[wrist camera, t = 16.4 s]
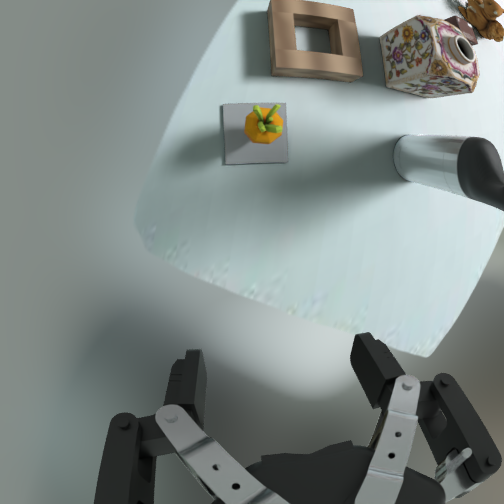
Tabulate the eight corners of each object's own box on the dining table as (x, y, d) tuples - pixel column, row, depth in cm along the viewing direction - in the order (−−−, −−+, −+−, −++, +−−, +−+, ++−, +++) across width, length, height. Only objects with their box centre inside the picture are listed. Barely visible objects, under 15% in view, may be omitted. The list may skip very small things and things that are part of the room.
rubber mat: (285, 103, 39) (285, 103, 38) (287, 162, 42) (288, 162, 42) (223, 104, 38) (222, 104, 38) (225, 164, 42) (225, 164, 41)
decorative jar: (384, 87, 38) (447, 69, 21) (376, 36, 34) (431, 3, 17) (430, 99, 39) (493, 93, 22) (423, 51, 34) (480, 32, 18)
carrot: (237, 122, 39) (239, 104, 25) (267, 114, 39) (284, 94, 25) (246, 151, 41) (253, 148, 27) (276, 142, 41) (298, 136, 26)
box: (442, 43, 33) (462, 37, 26) (435, 22, 31) (454, 14, 24) (458, 49, 33) (478, 44, 26) (452, 29, 31) (470, 22, 24)
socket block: (342, 19, 33) (352, 9, 28) (350, 82, 38) (363, 76, 33) (267, 10, 32) (270, -3, 27) (271, 75, 37) (276, 67, 32)
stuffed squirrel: (467, 1, 26) (495, -9, 13) (492, 42, 30) (522, 37, 18) (452, 2, 27) (483, -10, 15) (480, 46, 32) (513, 40, 19)
